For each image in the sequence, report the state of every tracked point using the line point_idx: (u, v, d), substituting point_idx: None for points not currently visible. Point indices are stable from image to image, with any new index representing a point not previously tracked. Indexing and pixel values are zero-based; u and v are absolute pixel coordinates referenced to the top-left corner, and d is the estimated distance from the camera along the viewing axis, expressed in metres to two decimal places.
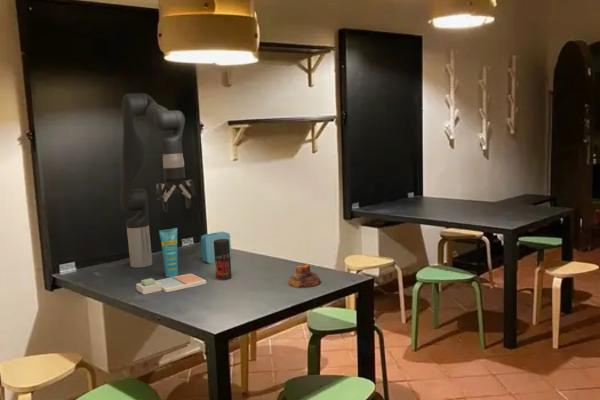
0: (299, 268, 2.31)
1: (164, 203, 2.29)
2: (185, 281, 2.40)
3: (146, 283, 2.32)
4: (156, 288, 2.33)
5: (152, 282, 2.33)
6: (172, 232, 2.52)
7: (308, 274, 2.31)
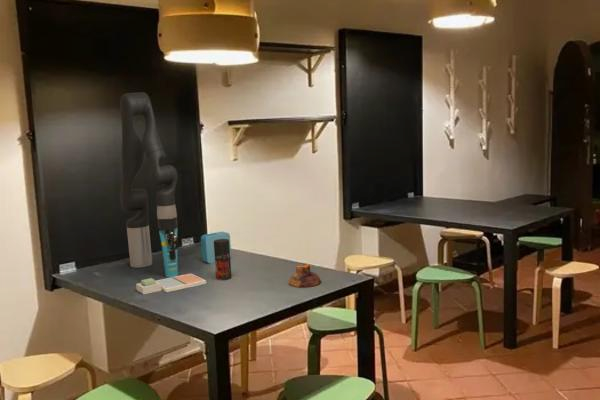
0: (299, 268, 2.31)
1: (174, 252, 2.50)
2: (185, 281, 2.40)
3: (146, 283, 2.32)
4: (156, 288, 2.33)
5: (152, 282, 2.33)
6: None
7: (308, 274, 2.31)
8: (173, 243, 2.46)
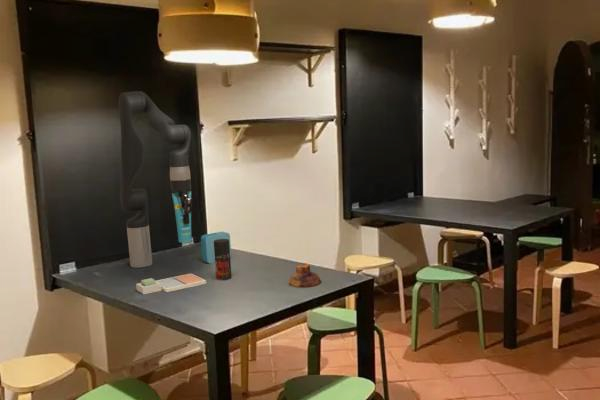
0: (299, 268, 2.31)
1: None
2: (185, 281, 2.40)
3: (146, 283, 2.32)
4: (156, 288, 2.33)
5: (152, 282, 2.33)
6: None
7: (308, 274, 2.31)
8: (187, 206, 2.34)
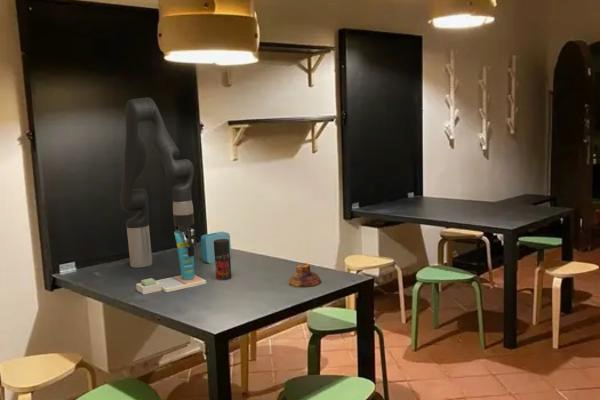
0: (299, 268, 2.31)
1: (193, 248, 2.38)
2: (185, 281, 2.40)
3: (146, 283, 2.32)
4: (156, 288, 2.33)
5: (152, 282, 2.33)
6: None
7: (308, 274, 2.31)
8: (191, 237, 2.35)
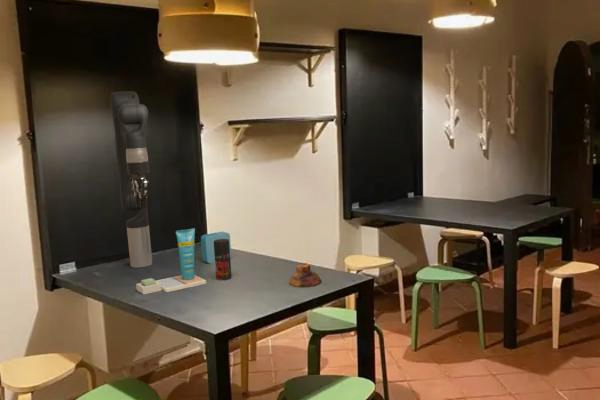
0: (299, 267, 2.31)
1: (145, 199, 2.28)
2: (185, 281, 2.40)
3: (146, 283, 2.32)
4: (156, 288, 2.33)
5: (152, 282, 2.33)
6: (189, 233, 2.42)
7: (308, 273, 2.32)
8: (143, 189, 2.24)
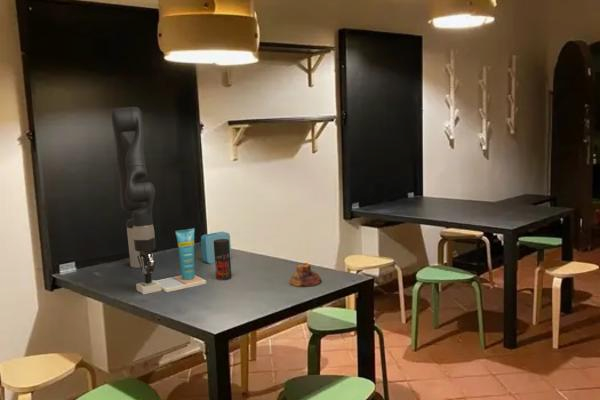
0: (300, 267, 2.31)
1: None
2: (185, 281, 2.40)
3: None
4: (156, 288, 2.33)
5: None
6: (189, 233, 2.42)
7: (309, 273, 2.32)
8: (149, 268, 2.29)
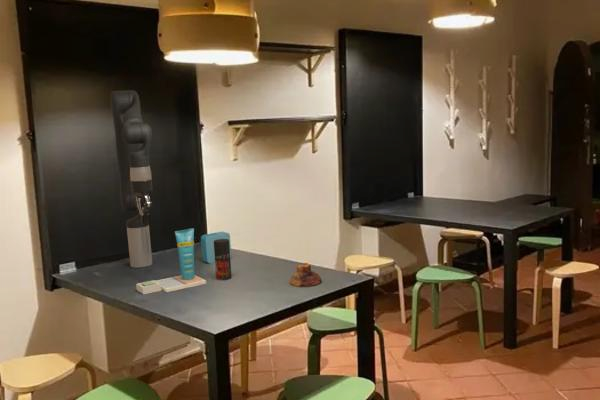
0: (300, 267, 2.32)
1: None
2: (185, 281, 2.40)
3: None
4: (156, 288, 2.33)
5: None
6: (188, 233, 2.42)
7: (309, 273, 2.32)
8: (146, 209, 2.31)
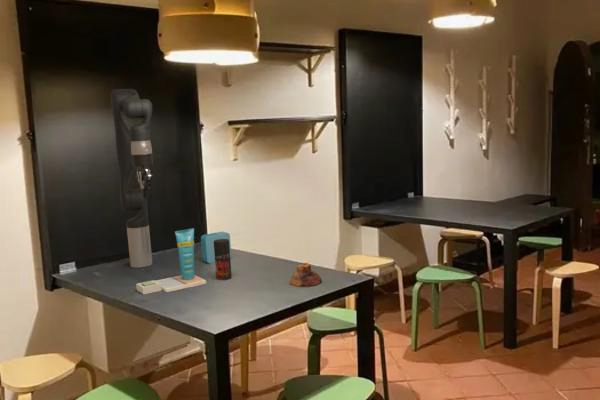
0: (300, 267, 2.32)
1: (147, 190, 2.40)
2: (185, 281, 2.40)
3: None
4: (156, 288, 2.33)
5: None
6: (189, 233, 2.41)
7: (309, 273, 2.32)
8: (147, 182, 2.36)
